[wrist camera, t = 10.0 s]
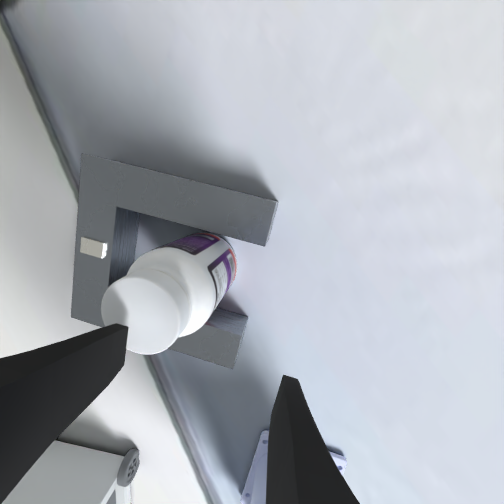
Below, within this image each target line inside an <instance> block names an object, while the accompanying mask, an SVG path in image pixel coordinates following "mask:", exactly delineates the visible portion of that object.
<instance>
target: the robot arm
mask: <svg viewBox="0 0 504 504" xmlns="http://www.w3.org/2000/svg"><path fill="white" fill-rule="evenodd" d="M128 329H129V327H127V326H124V325H121V324H118V323H115V324H112V325H108V326H105V327H102V328H99V329H96V330H93V331H90V332H88V333H85V334H82V335H79V336H76V337H73V338H70V339H67V340H64V341H61V342H57V343H54V344H51V345H48V346H44V347H41V348H38V349H34V350H31V351H27V352H24V353H20V354H16V355H12V356H8V357H4V358H0V504H2V503H3V501H4V500H5V499H6V498H7V496H8V495H9V494H10V493H11V491H12V490H13V489H14V488H15V487H16V485H17V484H18V483H19V482H20V480H21V479H22V478H23V477H24V475H25V474H26V473H27V472H28V471H29V469H30V468H31V467H32V466H33V465H34V464H35V462H36V461H37V460H38V459H39V458H40V456H41V455H42V454H43V453H44V452H45V451H46V449H47V448H48V447H49V446H50V445H51V444H52V443H53V442H54V440H55V439H56V438H57V437H58V436H59V435H60V434H61V433H62V432H63V431H64V430H65V429H66V428H67V427H68V426H69V425H70V424H71V423H72V422H73V421H74V420H75V419H76V418H77V417H78V416H79V415H80V414H81V413H82V412H83V411H84V410H85V409H86V408H87V407H88V406H89V405H90V404H91V403H92V402H93V401H94V400H95V399H96V397H97V396H98V395H99V394H100V393H101V392H102V391H103V390H104V389H105V388H106V387H107V386H108V385H109V384H110V382H111V381H112V380H113V379H114V377H115V376H116V375H117V374H118V372H119V371H120V370H121V368H122V367H123V366H124V361H125V353H126V345H127V337H128ZM265 440H266V441H265ZM346 466H347V461H346V458H345V457H343V456H341V455H338V454H335V453H332V452H329V451H328V449H327V447H326V445H325V443H324V441H323V439H322V437H321V434H320V432H319V430H318V428H317V426H316V423H315V421H314V419H313V417H312V414H311V412H310V410H309V407H308V405H307V402H306V400H305V397H304V394H303V392H302V389H301V386H300V383H299V381H298V379H296V378H293V377H289V376H286V375H283V377H282V381H281V384H280V387H279V391H278V394H277V397H276V400H275V404H274V407H273V410H272V414H271V421H270V428H269V431H268V430H264V431H263V432H262V433H261V436H260V440H259V443H258V446H257V449H256V452H255V455H254V458H253V461H252V465H251V468H250V471H249V474H248V477H247V480H246V483H245V487H244V490H243V493H242V496H241V503H242V504H360V503H359V502H358V500H357V499H356V497H355V496H354V494H353V493H352V491H351V489H350V488H349V486H348V484H347V483H346V481H345V479H344V478H343V476H342V475H343V473H344V471H345V468H346Z"/></svg>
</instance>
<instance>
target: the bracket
mask: <svg viewBox="0 0 504 504" xmlns="http://www.w3.org/2000/svg"><path fill="white" fill-rule="evenodd" d="M277 206H278V202H277V201H273V200H269V199H265V198H261V197H257V196H253V195H249V194H246V193H242V192H238V191H234V190H230V189H226V188H222V187H218V186H214V185H210V184H206V183H202V182H198V181H194V180H190V179H186V178H182V177H178V176H174V175H170V174H166V173H162V172H158V171H154V170H150V169H146V168H142V167H138V166H134V165H130V164H126V163H122V162H118V161H114V160H110V159H105V158H101V157H96V156H91V155H87V154H82V156H81V171H80V186H79V201H78V216H77V232H76V247H75V262H74V277H73V292H72V308H71V317H72V318H75V319H78V320H81V321H84V322H87V323H91V324H94V325H97V326H100V327H105V325H104V322H103V319H102V314H101V304H102V299H103V296H104V294H105V292H106V290H107V289H108V288H109V286H110V285H111V284H113V283H114V282H115V281H117V280H119V279H121V278H123V277H125V276H126V275H127V273H128V271H129V269H130V267H131V266H132V264H133V263H134V255H135V248H136V240H137V232H138V224H139V216H140V213H143V214H146V215H150V216H154V217H157V218H161V219H165V220H169V221H172V222H176V223H180V224H183V225H187V226H191V227H194V228H198V229H202V230H206V231H209V232H213V233H217V234H220V235H224V236H228V237H232V238H235V239H239V240H243V241H246V242H250V243H254V244H257V245H261V246H265V245H266V243H267V242H268V240H269V236H270V232H271V229H272V225H273V221H274V217H275V213H276V210H277ZM247 320H248V317H246V316H243V315H240V314H236V313H233V312H230V311H226V310H223V309H220V308H215V310H214V311H213V313H212V314H211V316H210V317H209V319H208V320H207V321H206V322H205V324H204V325H203V326H202V327H201V328H199V329H198V330H197V331H195V332H193V333H191V334H189V335H186V336H182V337H178V338H177V339H176V340H175V342H174V343H173V344H172V345H171V346H170V347H169V348H168V349H172V350H175V351H178V352H181V353H184V354H187V355H190V356H193V357H196V358H200V359H203V360H206V361H209V362H212V363H215V364H218V365H221V366H224V367H228V368H231V369H233V367H234V364H235V361H236V358H237V355H238V353H239V350H240V347H241V343H242V339H243V335H244V331H245V327H246V324H247Z"/></svg>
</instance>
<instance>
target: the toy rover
mask: <svg viewBox="0 0 504 504" xmlns="http://www.w3.org/2000/svg"><path fill="white" fill-rule="evenodd" d="M138 467H139V450H138V449H133V448H132V449H130V450H129V451H128V452H127V454H126V455H125V456H120V455H116V454H112V453H107V452H103V451H99V450H94V449H90V448H86V447H81V446H77V445H73V444H68V443H64V442H60V441H56V440H54V442H53V443H52V444H51V445H50V446H49V447H48V448H47V449H46V451H45V452H44V453H43V454H42V455H41V456H40V458H39V459H38V460H37V461H36V462H35V464H34V465H33V466H32V467H31V468H30V469H29V471H28V472H27V473H26V474H25V475H24V477H23V478H22V479H21V480H20V482H19V483H18V484H17V485H16V487H15V488H14V489H13V490H12V491H11V493H10V494H9V495H8V496H7V498H6V499H5V500H4V501H3V503H2V504H131V493H130V483H131V481H132V480H133V478H134V476H135V474H136V472H137V470H138Z"/></svg>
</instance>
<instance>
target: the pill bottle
mask: <svg viewBox="0 0 504 504" xmlns="http://www.w3.org/2000/svg"><path fill="white" fill-rule="evenodd" d="M236 272H237V260H236V256H235V253H234V251H233V249H232V248H231V246H230V245H229V244H228V243H227V242H226V241H225V240H224V239H222V238H221V237H219V236H217V235H214V234H211V233H196V234H192V235H189V236H187V237H184V238H182V239H179V240H176V241H174V242H171V243H169V244H166V245H163V246H161V247H159V248H156V249H153V250H151V251H149V252H147V253H145V254H143V255H142V256H140V257H139V258H138V259H137V260H136V261H135V262H134V263H133V264H132V266H131V267H130V269H129V271H128V273H127V275H126V276H125V277H123V278H121V279H119V280H117V281H115V282H114V283H113V284H111V285H110V286H109V288H108V289H107V290H106V292H105V294H104V296H103V299H102V304H101V314H102V319H103V322H104V325H105V326H108V325H112V324H115V323H118V324H121V325H124V326H127V327H129V329H128V337H127V345H126V349H128V350H130V351H132V352H135V353H139V354H144V355H150V354H156V353H160V352H162V351H164V350H166V349H167V348H169V347H170V346H171V345H172V344H173V343H174V342H175V340H176V339H177V338H178V337H182V336H186V335H189V334H191V333H193V332H195V331H197V330H198V329H199V328H201V327H202V326H203V325H204V324H205V322H206V321H207V320H208V319H209V317H210V316H211V314H212V313H213V311H214V310H215V308H216V307H217V305H218V304H219V302H220V301H221V299H222V298H223V296H224V295H225V293H226V292H227V290H228V289H229V287H230V286H231V284H232V282H233V280H234V278H235V276H236Z"/></svg>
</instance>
